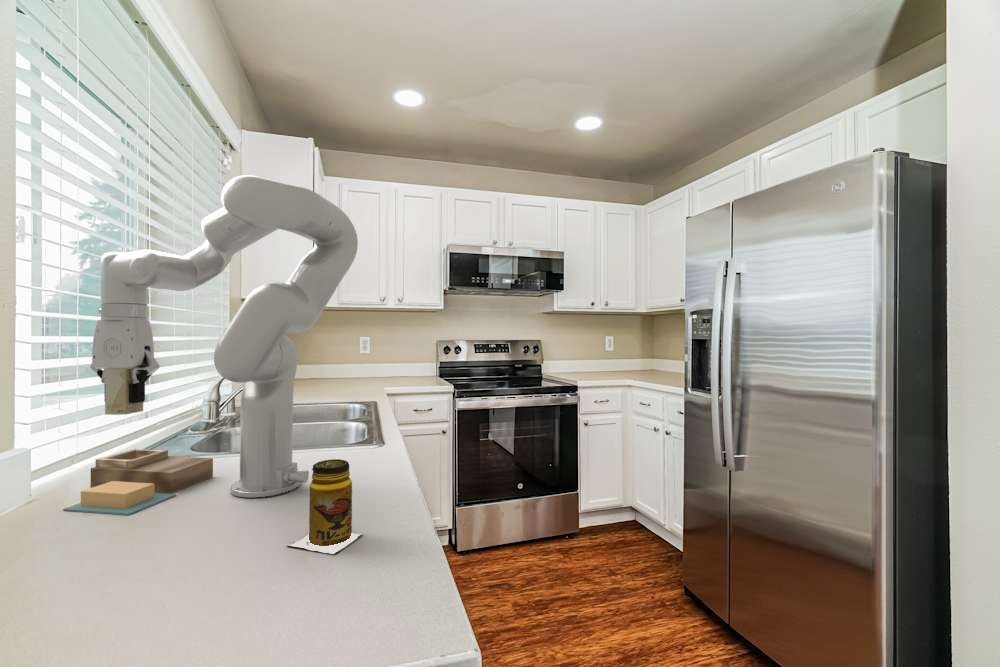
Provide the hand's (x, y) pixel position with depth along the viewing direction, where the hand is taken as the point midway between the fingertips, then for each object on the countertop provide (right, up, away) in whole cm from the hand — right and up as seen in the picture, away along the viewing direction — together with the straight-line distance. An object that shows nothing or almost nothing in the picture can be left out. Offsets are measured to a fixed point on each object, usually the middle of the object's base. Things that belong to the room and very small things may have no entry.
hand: (125, 401), depth 98 cm
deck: (+5, -17, +1) cm, 18 cm away
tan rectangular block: (+7, -14, -10) cm, 19 cm away
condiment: (+51, -18, -26) cm, 60 cm away
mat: (+8, -17, -11) cm, 22 cm away
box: (0, -3, 0) cm, 3 cm away
